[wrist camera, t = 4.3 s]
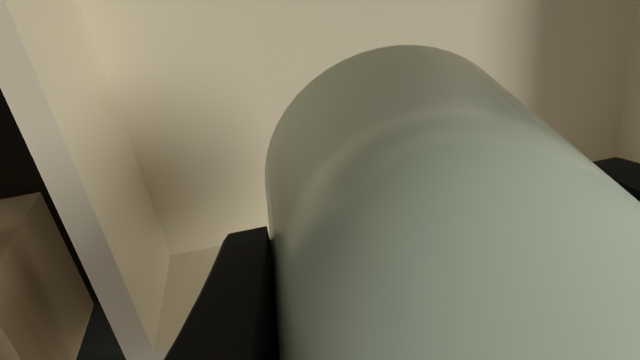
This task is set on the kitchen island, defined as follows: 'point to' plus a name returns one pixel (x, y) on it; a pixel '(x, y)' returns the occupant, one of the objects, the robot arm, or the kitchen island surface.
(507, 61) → the box
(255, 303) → the robot arm
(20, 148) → the kitchen island surface
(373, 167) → the sage cylinder
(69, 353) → the oak cube
